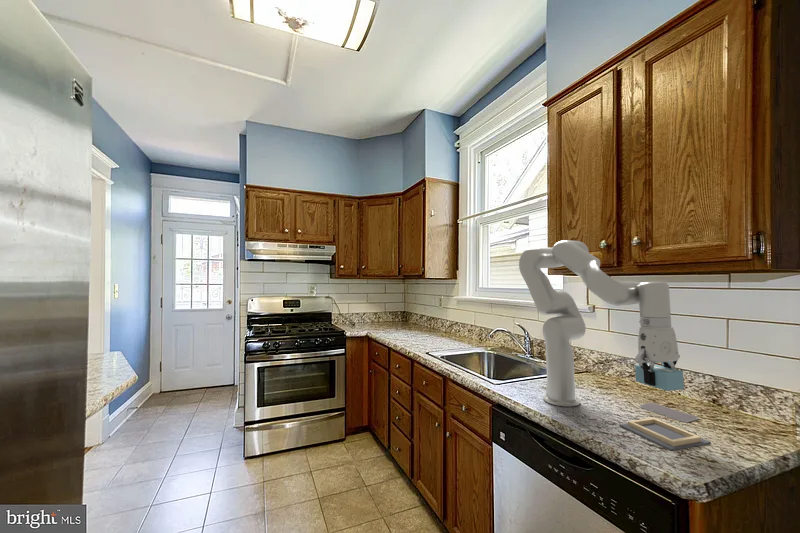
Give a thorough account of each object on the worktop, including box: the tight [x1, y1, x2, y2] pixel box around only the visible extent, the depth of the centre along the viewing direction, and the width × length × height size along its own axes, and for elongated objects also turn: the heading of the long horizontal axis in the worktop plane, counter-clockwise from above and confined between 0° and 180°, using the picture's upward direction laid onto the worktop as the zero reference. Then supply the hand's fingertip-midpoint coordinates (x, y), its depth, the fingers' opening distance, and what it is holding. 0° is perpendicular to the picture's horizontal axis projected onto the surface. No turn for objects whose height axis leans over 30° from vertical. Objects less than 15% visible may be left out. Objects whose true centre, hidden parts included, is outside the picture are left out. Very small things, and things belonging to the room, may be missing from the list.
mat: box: [619, 417, 712, 452], centre depth 102 cm, size 16×14×2 cm
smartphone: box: [639, 402, 699, 424], centre depth 118 cm, size 7×1×15 cm
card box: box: [634, 363, 685, 392], centre depth 104 cm, size 10×6×5 cm, turn 13°
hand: (659, 382), depth 103 cm, fingers closed on card box, 6 cm apart
